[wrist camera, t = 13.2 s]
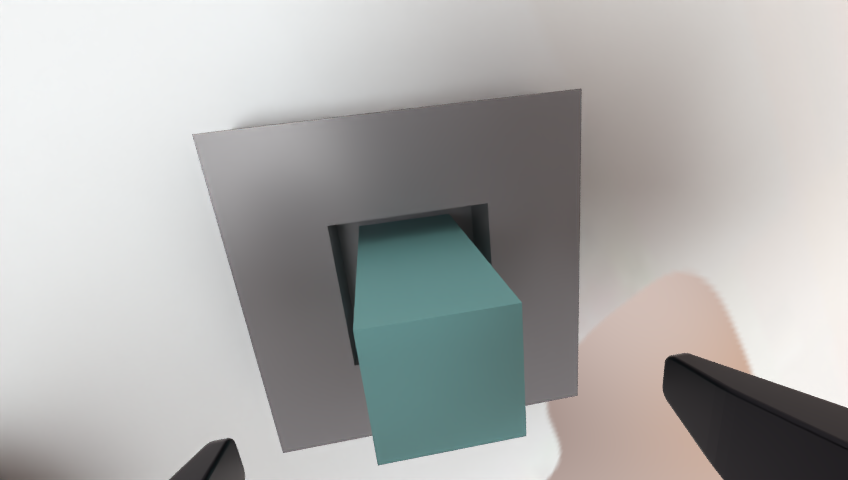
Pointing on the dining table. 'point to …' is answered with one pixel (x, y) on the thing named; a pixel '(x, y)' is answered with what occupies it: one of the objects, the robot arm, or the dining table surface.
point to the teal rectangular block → (435, 341)
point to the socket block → (386, 202)
